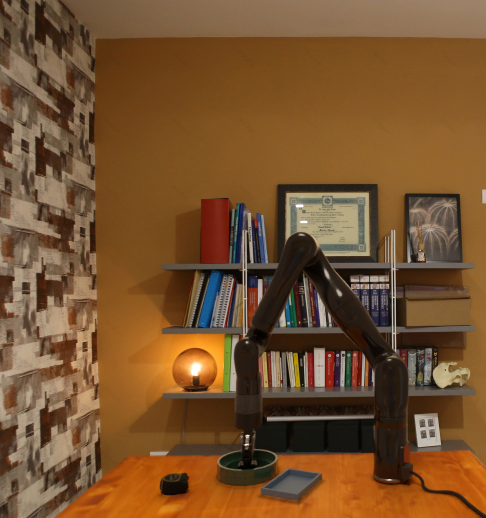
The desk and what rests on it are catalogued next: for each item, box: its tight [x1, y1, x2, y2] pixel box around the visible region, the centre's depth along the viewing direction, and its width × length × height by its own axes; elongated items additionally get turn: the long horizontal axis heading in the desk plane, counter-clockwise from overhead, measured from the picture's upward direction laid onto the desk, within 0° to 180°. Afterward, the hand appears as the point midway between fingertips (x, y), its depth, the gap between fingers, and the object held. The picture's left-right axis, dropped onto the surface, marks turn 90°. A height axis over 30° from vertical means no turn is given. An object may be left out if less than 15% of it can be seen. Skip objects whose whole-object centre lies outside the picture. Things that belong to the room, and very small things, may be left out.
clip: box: [238, 461, 257, 470], centre depth 135 cm, size 5×2×3 cm, turn 100°
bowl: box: [216, 448, 279, 487], centre depth 135 cm, size 16×16×4 cm
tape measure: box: [159, 472, 190, 496], centre depth 124 cm, size 7×7×4 cm
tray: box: [260, 467, 323, 502], centre depth 127 cm, size 10×14×2 cm
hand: (247, 472), depth 135 cm, fingers closed on clip, 2 cm apart
